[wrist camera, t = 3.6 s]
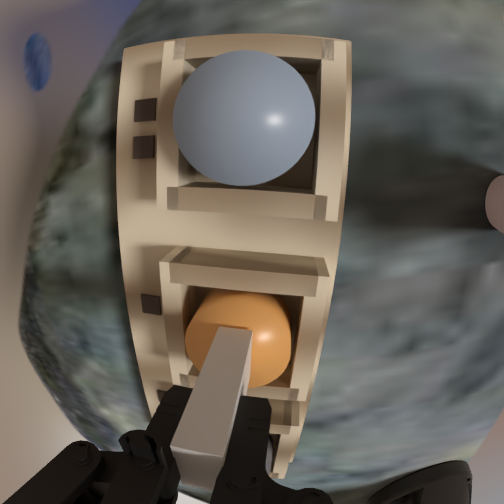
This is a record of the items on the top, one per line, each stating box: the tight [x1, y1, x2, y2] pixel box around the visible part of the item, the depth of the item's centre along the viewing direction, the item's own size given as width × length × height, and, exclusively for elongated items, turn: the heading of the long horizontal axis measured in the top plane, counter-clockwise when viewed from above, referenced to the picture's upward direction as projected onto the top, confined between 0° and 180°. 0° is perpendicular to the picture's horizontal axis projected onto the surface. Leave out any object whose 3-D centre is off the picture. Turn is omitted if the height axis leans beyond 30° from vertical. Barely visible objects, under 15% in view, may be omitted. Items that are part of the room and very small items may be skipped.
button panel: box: [116, 34, 352, 479], centre depth 16 cm, size 30×12×4 cm, turn 177°
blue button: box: [173, 50, 315, 186], centre depth 11 cm, size 5×5×2 cm
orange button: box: [185, 288, 291, 388], centre depth 14 cm, size 5×5×2 cm
